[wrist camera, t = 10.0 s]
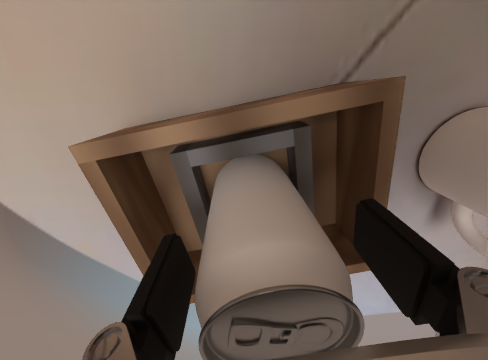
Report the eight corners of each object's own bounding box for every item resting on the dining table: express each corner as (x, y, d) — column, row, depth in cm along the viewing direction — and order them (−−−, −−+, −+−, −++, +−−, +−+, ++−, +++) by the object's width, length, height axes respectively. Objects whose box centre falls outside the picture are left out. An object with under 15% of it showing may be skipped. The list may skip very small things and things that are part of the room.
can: (278, 218, 19) (340, 387, 8) (212, 213, 18) (183, 390, 7) (293, 156, 16) (415, 282, 6) (217, 147, 16) (185, 272, 5)
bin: (343, 82, 15) (405, 76, 10) (340, 223, 21) (378, 268, 16) (124, 128, 16) (67, 146, 10) (180, 253, 21) (162, 308, 16)
